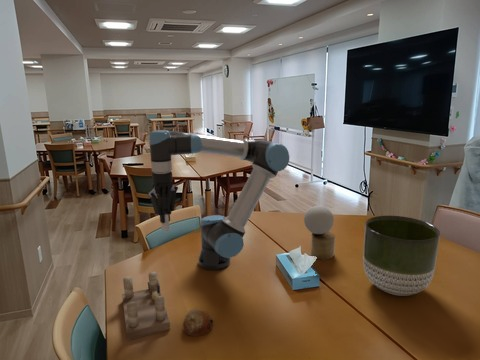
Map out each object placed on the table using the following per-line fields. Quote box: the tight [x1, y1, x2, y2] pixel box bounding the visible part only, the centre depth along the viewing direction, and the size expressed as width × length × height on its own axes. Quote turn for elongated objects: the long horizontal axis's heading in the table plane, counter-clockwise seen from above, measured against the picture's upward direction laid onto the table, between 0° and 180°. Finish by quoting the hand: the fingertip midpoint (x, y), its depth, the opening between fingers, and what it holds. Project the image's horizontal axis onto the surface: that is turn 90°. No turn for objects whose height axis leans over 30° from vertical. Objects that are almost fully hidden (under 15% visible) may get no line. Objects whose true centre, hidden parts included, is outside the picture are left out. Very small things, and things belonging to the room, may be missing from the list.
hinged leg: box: [148, 271, 159, 301], centre depth 132 cm, size 9×3×8 cm, turn 18°
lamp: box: [303, 205, 336, 260], centre depth 170 cm, size 15×14×25 cm
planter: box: [362, 215, 441, 297], centre depth 138 cm, size 27×27×27 cm
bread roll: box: [182, 308, 214, 337], centre depth 119 cm, size 10×10×8 cm
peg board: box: [121, 276, 171, 341], centre depth 125 cm, size 24×14×11 cm, turn 22°
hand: (165, 229), depth 136 cm, fingers closed
